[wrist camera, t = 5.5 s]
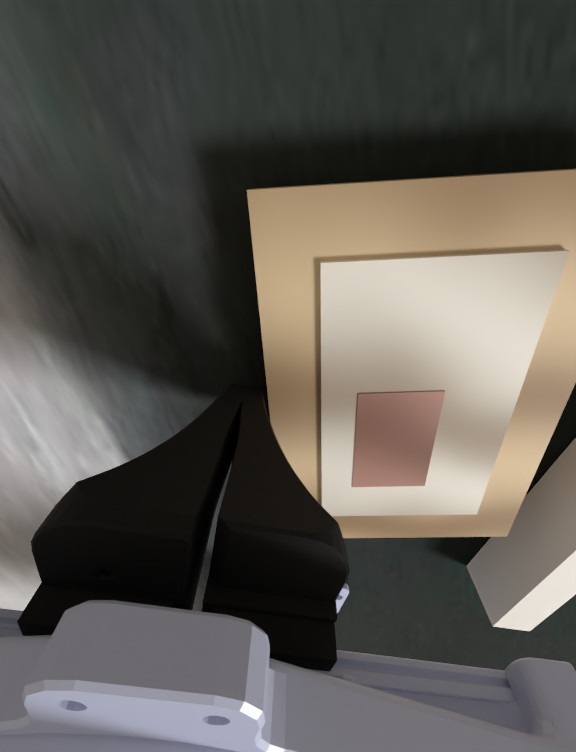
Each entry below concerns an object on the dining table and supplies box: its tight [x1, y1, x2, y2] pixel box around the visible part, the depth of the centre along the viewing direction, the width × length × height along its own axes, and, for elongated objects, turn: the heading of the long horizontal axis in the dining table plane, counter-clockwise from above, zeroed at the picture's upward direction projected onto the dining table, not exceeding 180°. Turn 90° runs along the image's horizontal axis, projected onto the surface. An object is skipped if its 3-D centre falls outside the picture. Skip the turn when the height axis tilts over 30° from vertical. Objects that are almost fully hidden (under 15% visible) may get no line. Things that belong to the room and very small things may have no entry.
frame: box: [247, 168, 576, 538], centre depth 12 cm, size 14×10×3 cm
